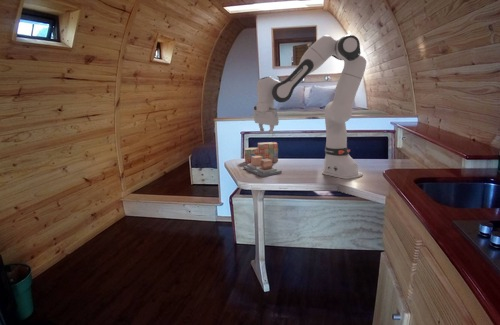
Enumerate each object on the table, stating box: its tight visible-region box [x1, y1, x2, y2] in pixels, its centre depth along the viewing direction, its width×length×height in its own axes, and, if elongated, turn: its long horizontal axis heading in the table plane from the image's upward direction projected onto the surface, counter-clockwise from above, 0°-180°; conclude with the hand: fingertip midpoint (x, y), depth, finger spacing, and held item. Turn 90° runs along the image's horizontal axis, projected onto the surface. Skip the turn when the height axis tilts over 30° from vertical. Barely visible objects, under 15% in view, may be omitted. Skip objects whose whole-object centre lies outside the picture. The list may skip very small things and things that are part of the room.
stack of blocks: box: [244, 141, 279, 164], centre depth 206 cm, size 21×6×12 cm, turn 97°
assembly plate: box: [243, 156, 282, 178], centre depth 184 cm, size 22×13×8 cm, turn 29°
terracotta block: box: [260, 159, 273, 170], centre depth 179 cm, size 5×5×6 cm
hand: (266, 132), depth 175 cm, fingers open, 8 cm apart
